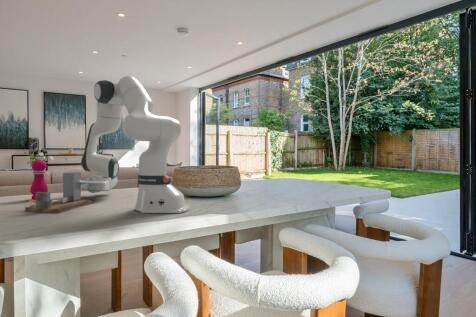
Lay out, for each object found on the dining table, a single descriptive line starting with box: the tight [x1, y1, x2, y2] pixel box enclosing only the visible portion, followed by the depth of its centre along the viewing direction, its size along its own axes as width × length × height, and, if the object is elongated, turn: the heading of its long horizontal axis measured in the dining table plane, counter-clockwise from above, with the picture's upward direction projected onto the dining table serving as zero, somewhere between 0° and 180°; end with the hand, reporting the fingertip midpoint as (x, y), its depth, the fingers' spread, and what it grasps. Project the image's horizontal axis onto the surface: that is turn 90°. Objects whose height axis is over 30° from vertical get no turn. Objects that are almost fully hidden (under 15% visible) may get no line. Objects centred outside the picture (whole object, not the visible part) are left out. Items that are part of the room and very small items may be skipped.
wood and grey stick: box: [28, 199, 53, 206], centre depth 130 cm, size 9×2×2 cm, turn 82°
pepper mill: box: [29, 156, 49, 200], centre depth 155 cm, size 7×7×20 cm
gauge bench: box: [24, 191, 93, 214], centre depth 137 cm, size 14×22×8 cm, turn 172°
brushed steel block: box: [57, 171, 82, 203], centre depth 142 cm, size 5×10×12 cm, turn 172°
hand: (77, 187), depth 148 cm, fingers closed
